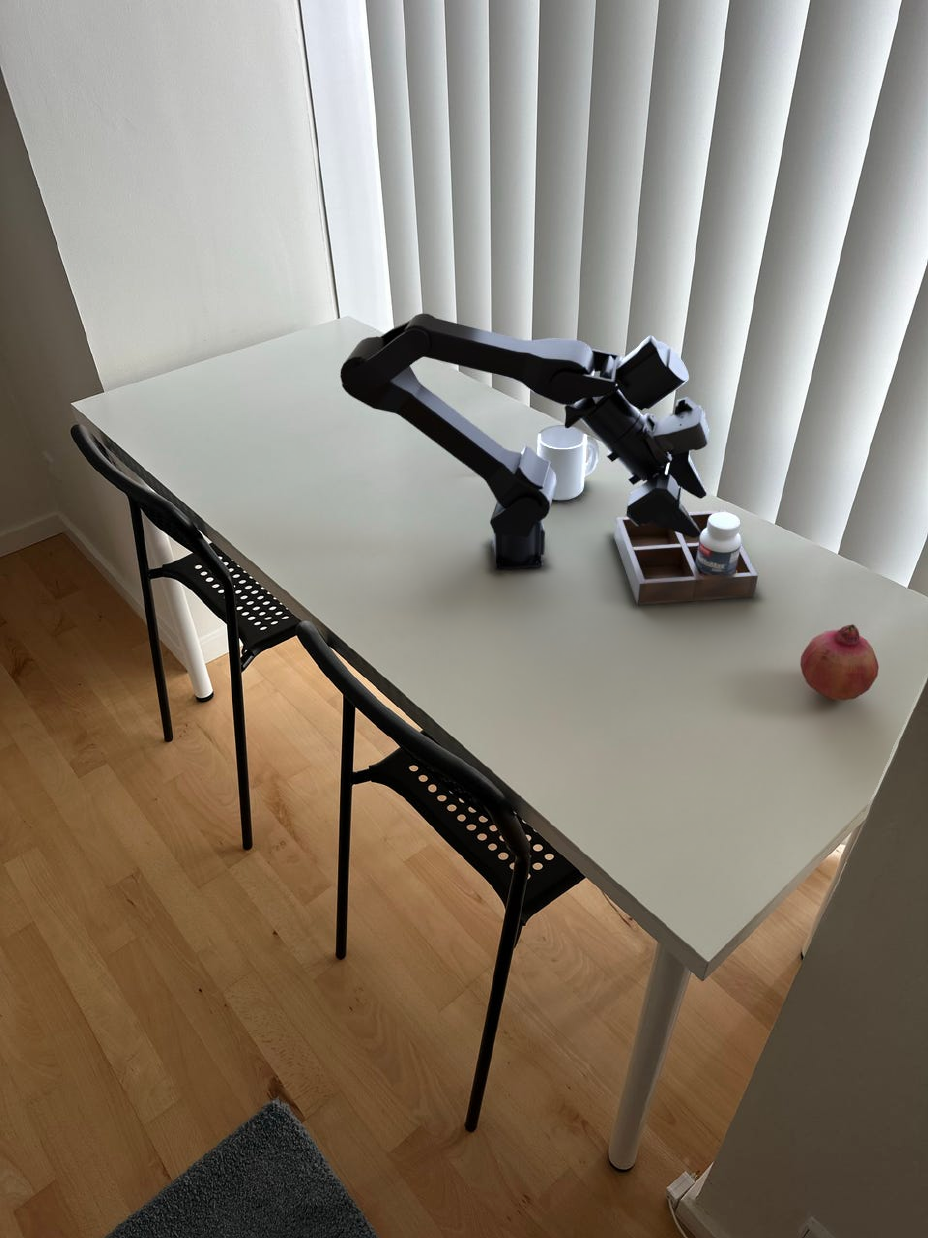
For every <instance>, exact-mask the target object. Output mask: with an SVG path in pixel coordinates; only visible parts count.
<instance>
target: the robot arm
mask: <svg viewBox="0 0 928 1238" xmlns="http://www.w3.org/2000/svg"><path fill="white" fill-rule="evenodd" d="M422 358H428V359H432V360H436V361H440V362H443V363H448V364H451V365H456V366H459V367H464V368H469V369H472V370H476V371H480V372H484V373H487V374H491V375H496V376H499V377H503V378H507V379H508V378H509V379H511V380H514V381H517V382H519V383H521V384H523V386H525V387H526V388H528V390H530V391H531V392H532V393H534V394H535V395H538V396H540V397H542V398H544V399H547V400H549V401H552V402H554V403H556V404H559V405H561V406H562V405H563V406H564V412H565V419H564V424H563V425H564V426H565V428H570V427H571V426H574V425H575V424H576V423H578V422H579V421H580V420H581V421H582V422H583V424H585V426H587V428H588V429H590V431H591V432H592V433H593V434H594V435H595V436H596V438H598V440H599V441H600V442H601V443H602V444H603V445H604V446H605V447H606V448H607V450H608V451H607V454H606V457H607V459H608V460H609V461H610V462H611V463H614V462H615V461H616V460H618V461H619V463H621V465H623V467H624V468H625V469H626V470H627V471H628V472H629V474H628V478H627V480H628V481H629V482H630V483H631V485H632V486H634V485H636V484H637V483H639V482H641V481H642V482H644V483H642V484H641V485H639V486H637V487H636V488H635V489H634V490H632V491H630V495H629V497H628V502H627V506H626V514H625V517H628V518H629V519H630V520H631V521H632V522H633V523H634V524H635V525H636V526H640V525H642V524H643V525H646V524H648V523H649V524H653V525H656V526H660V527H664V528H667V529H670V530H673V531H675V532H678V533H681V534H684V535H687V536H689V537H692V538H695V537H697V536H699V535H700V533H701V532H700V530H699V528H698V527H697V525H696V523H695V522H694V521H693V519H692V518H691V516H690V515H689V512H688V511H687V509H686V508H685V506H684V505H683V503H682V493H683V490H684V491H686V492H687V493H689V494H691V495H693V496H694V497H695V498H697V499H699V500H702V499H703V498H705V497H706V496H707V493H708V492H707V490H706V488H705V486H704V484H703V482H702V479H701V477H700V475H699V473H698V471H697V470H696V467H695V465H694V462H693V460H692V458H691V453H690V452H691V451H693V450H694V451H699V450H702V449H704V448H706V446H707V445H708V443H709V435H710V431H711V430H710V428H709V425H708V422H707V419H706V410H705V409H704V408H702V407H701V404H697V403H696V402H694V401H693V400H692V399H691V398H690V397H688V396H685V397H682V398H678V399H677V400H676V403H675V407H674V413H673V414H672V413H668V414H667V417H665V418H663V419H657V417H656V416H655V415H654V414H653V413H649V412H647V413H645V414H642V413H641V412H642V411H643V410H651V409H652V408H654V407H655V406H656V405H657V404H659V403H660V402H661V401H663V400H664V399H665V398H667V397H668V396H669V395H671V394H672V393H673V392H675V391H677V389H679V388H680V387H682V386H683V385H684V384H686V383H687V382H689V379H690V375H689V371H688V369H687V366H686V364H685V363H684V361H683V360H682V358H681V356H680V355H679V354H678V353H677V352H676V350H675V349H674V348H673V347H672V346H668V344H666V343H664V342H663V341H658V340H657V339H656V338H655V337H654V335H648V336H647V337H646V338H644V339H643V340H642V341H641V342H640V344H639V345H638V346H637V347H636V348H634V349H633V350H632V351H631V352H630V353H629V354H627V355H626V356H625V357H623V358H622V354H619V353H615V352H609V351H605V350H599V349H594V348H591V347H590V345H588V344H587V343H586V342H584V341H581V340H578V339H569V338H557V337H547V338H541V339H540V338H539V339H534V340H532V339H531V340H530V339H521V338H518V337H513V336H510V335H509V336H508V335H505V334H501V333H498V332H493V331H488V330H484V329H481V328H476V327H473V326H469V325H464V324H461V323H457V322H453V321H448V320H446V319H445V320H444V319H441V318H436V317H435V316H433V315H432V314H429V313H419V314H415V315H414V316H413V317H412V318H411V319H409V320H408V321H406V322H405V323H402V324H400V325H397V326H395V327H393V328H391V329H389V330H387V332H385V333H384V334H382V335H380V336H378V335H377V336H371V337H370V336H368V337H366V338H363V339H361V340H360V341H359V342H358V343H357V344H356V346H355V347H354V348H353V350H352V352H350V354H349V356H348V357H347V358H346V360H345V361H344V362H343V364H342V366H341V368H340V381H341V386H342V388H343V390H344V391H345V392H346V393H347V395H348V396H350V397H352V398H353V399H355V400H356V401H358V402H361V403H362V404H364V405H366V406H368V407H370V408H372V409H374V410H378V411H382V412H388V413H392V414H396V415H398V416H400V417H401V418H402V419H404V421H406V422H408V423H409V424H410V425H412V426H413V427H414V428H416V429H417V430H418V431H419V432H420V433H423V435H425V436H426V437H427V438H429V439H430V440H431V441H433V442H434V443H435V444H437V445H438V446H439V447H441V448H442V449H443V450H445V451H446V452H447V453H449V454H450V455H451V456H452V457H454V458H455V459H457V460H458V461H459V462H461V464H463V465H464V466H466V467H467V468H468V469H470V470H471V471H472V472H473V473H475V474H476V475H478V476H479V477H480V478H482V479H483V480H484V481H485V482H486V484H487V486H488V487H489V490H490V492H491V493H492V495H493V497H494V498H495V500H496V503H495V506H494V510H493V512H492V515H491V518H490V520H489V524H490V526H491V529H492V536H493V537H492V541H491V549H492V554H493V561H494V566H495V569H496V570H497V571H501V570H516V569H517V570H519V569H529V568H530V569H531V568H541V567H542V566H543V563H544V562H543V559H542V556H544V555H545V550H546V549H545V548H546V529H545V525H544V522H543V520H544V519H545V518H546V517H547V516H548V514H549V513H550V510H551V505H552V502H553V495H554V491H555V487H556V477H555V476H556V475H555V473H554V471H553V470H552V469H551V468H550V467H549V465H550V461H547V460H544V459H543V458H541V457H539V456H538V455H537V452H535V451H534V449H532V447H530V446H528V445H525V446H524V448H523V449H522V451H521V452H518V451H513V450H509V449H507V448H505V447H503V446H502V445H501V444H500V443H498V442H497V441H495V440H494V439H493V438H492V437H490V436H489V435H488V434H486V433H485V432H484V431H483V430H482V429H480V428H479V427H477V425H475V424H474V423H472V422H471V420H469V419H467V418H466V417H465V416H463V415H462V414H461V413H459V411H457V410H455V409H454V408H453V407H452V406H450V405H449V404H448V403H446V402H445V401H444V400H443V399H441V398H440V397H439V396H437V395H436V394H435V393H433V392H432V391H431V390H430V389H429V388H427V387H426V386H424V385H423V384H422V383H421V382H420V381H419V379H418V378H417V376H416V375H415V373H414V371H413V369H412V366H411V365H413V364H414V363H415V362H418V361H419V360H421V359H422ZM595 372H596V373H597V372H599V374H598V376H595ZM640 411H641V412H640Z"/></svg>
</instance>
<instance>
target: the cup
mask: <svg viewBox="0 0 928 1238" xmlns="http://www.w3.org/2000/svg"><path fill="white" fill-rule="evenodd" d="M587 449H588V453H587ZM536 454H537V455H538V456H539V457H541V458H543V459H544V460H547V461H550V465H549V467H550V468H551V469H552V470H553V471H554V473H555V475H556V476H555V477H556V487H555V491H554V495H553V499H552V501H568V500H572V499H575V498H577V497H578V496H580V494H581V493H582V492H583V491H584V487H585V477H588V476H589V475H590V474H592V472H594V470H595V469H596V467H597V465H598V462H599V458H600V449H599V444H598V442H597V440H596V439H595V438H594V437H593V436H590V435H589V436H587V433H586V432H585V431H584V430H582V429H581V428H578V427H576V426H574V425H572V426H571V427H570V428H565V426H564V424H558V425H557V424H556V425H551V426H548V427H545V428H543V429H542V430H540V431H539V432H538V435H537V452H536ZM587 454H588V455H587ZM586 459H587V460H586Z"/></svg>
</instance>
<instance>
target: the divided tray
mask: <svg viewBox="0 0 928 1238" xmlns="http://www.w3.org/2000/svg"><path fill="white" fill-rule="evenodd" d="M718 512H726V511H725V510H724V509H721V510H720V509H719V510H705V511H704V510H703V511H689V512H688V513H689V515H690V516H691V518H692V519H693V521H694V522H695V523H696V525H697V527H698V528H699V530H700V532H701V533H702V531H703V530H704V529H705V528H707V523H708V518H709V517H710V516H711V515H712V514H714V513H718ZM701 533H700V535H701ZM700 535H699V536H697V537H695V538H692V537H689V536H687V535H684V534H681V533H678V532H675V531H673V530H670V529H667V528H664V527H660V526H656V525H653V524H649V523H648V524H646V525H643V524H642V525H640V526H636V525H635V524H634V523H633V522H632V521H631V520H630V519H629V518H628V517H627V516H617V517H615V524H614V536H613V538H614V542H615V544H616V546H617V550H618V553H619V556H620V558H621V562H622V564H623V568H624V571H625V573H626V576H627V580H628V582H629V584H630V588H631V590H632V593H633V597H634V599H635V603H636V605H637V606H643V605H657V604H669V603H686V602H699V601H711V600H712V601H713V600H714V601H715V600H727V599H741V598H754V596H755V592H756V588H757V587H756V586H757V583H758V578H759V575H758V573H757V571H756V569H755V567H754V565H753V563H752V561H751V560H750V556H749V555H748V554H747V551H746V550H745V547H744V545H743V544H742V543H741V546H740V551H739V556H738V561H737V566H736V571H735V574H721V575H707V576H700V574H699V572H698V569H697V567H696V565H695V563H696V557H697V551H698V545H699V539H700Z"/></svg>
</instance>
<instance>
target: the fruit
mask: <svg viewBox="0 0 928 1238" xmlns="http://www.w3.org/2000/svg"><path fill="white" fill-rule="evenodd" d="M799 664H800V670H801V674H802V675H803V678H804V680H805V681H806V683H807V684H808V685H809V687H810V688H811V689H812V690H814V691H816V692H817V693H819V694H820V695H822V696H824V697H827V698H829V699H832V700H836V701H850V700H855V699H857V698H858V697H860V696H862V695H863V694H865V693H866V692H868V691H869V690H870V689H871V687H872V686H873V684H874V683H875V680H876V679H877V677H878V675H879V662H878V659H877V656H876V654H875V651H874V649H873V646H872V645H871V644H870V642H869V641H868V639H866V638H864V637H863V636H861V635H860V631H859V628H858V627H856V625H855V624H854V623H853V624H852V623H851V624H847V625H844V626H842V627H840V629H832V630H825V631H824V632H822V633H820V634H818V635H816V636H814V637H813V638H812V639H811V640H810V641H809V643H808V645H807V646H806V647H805V649H804V651H803V652H802V655H801V657H800V661H799Z"/></svg>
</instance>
